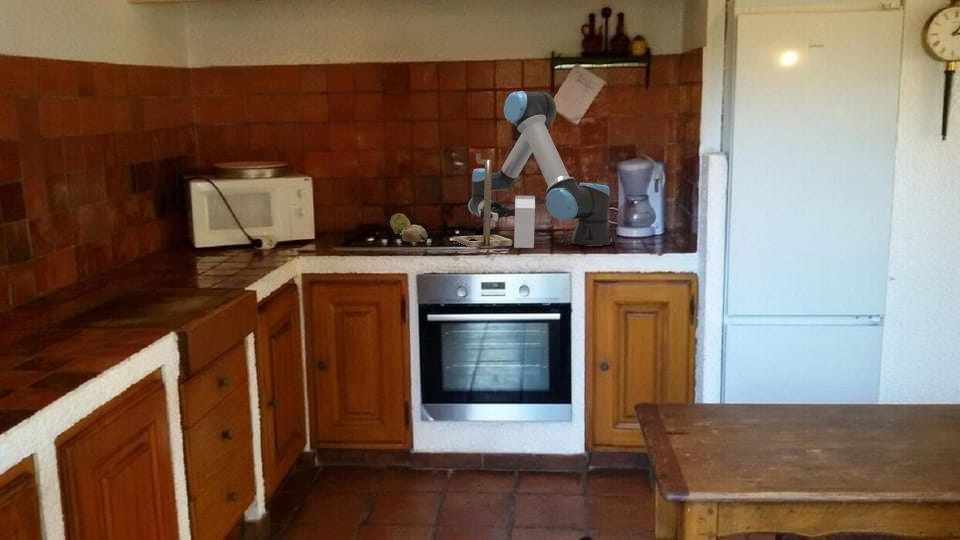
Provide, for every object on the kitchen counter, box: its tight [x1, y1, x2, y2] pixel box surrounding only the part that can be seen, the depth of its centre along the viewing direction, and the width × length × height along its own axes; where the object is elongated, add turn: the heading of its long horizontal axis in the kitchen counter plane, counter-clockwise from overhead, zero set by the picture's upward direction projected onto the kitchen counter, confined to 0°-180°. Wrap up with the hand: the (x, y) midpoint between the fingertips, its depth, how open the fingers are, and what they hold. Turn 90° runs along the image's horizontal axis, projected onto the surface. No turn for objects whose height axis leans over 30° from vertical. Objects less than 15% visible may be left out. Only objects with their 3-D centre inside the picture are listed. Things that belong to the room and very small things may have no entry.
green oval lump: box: [389, 212, 412, 235], centre depth 366 cm, size 8×13×8 cm, turn 8°
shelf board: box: [452, 234, 513, 248], centre depth 348 cm, size 18×14×2 cm
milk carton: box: [513, 195, 536, 249], centre depth 341 cm, size 7×7×19 cm
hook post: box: [475, 153, 495, 249], centre depth 340 cm, size 5×11×34 cm, turn 24°
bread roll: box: [399, 224, 429, 243], centre depth 352 cm, size 10×10×8 cm
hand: (513, 216), depth 349 cm, fingers open, 13 cm apart
